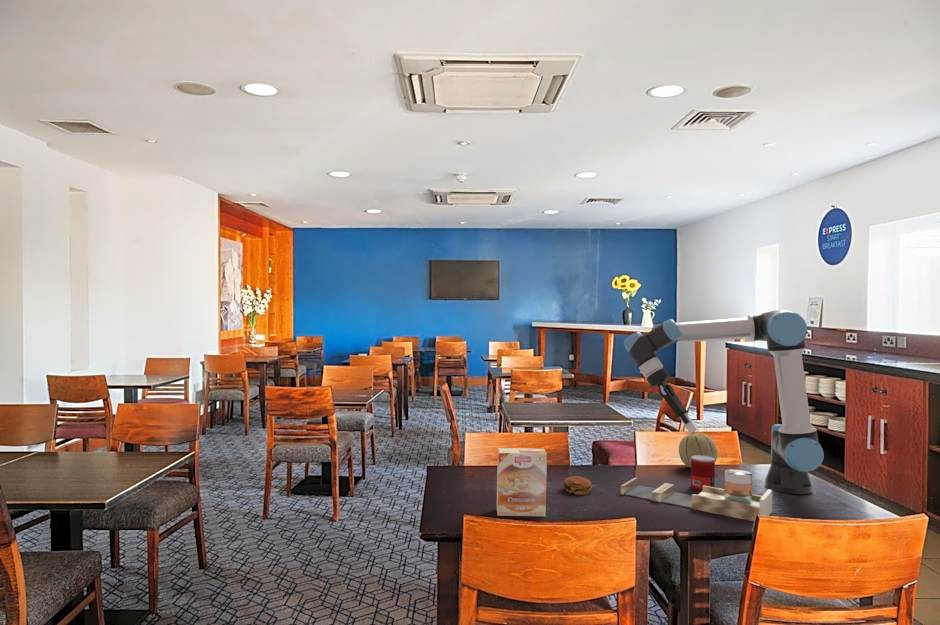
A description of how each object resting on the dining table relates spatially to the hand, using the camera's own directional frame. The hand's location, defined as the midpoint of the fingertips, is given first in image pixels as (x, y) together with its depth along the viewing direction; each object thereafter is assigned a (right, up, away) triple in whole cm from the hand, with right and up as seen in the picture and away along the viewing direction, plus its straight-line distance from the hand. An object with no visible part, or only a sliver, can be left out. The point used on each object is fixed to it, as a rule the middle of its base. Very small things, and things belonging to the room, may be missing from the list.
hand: (693, 431), depth 210 cm
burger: (-38, -22, +6) cm, 45 cm away
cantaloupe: (+15, -23, +38) cm, 47 cm away
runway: (-2, -23, -6) cm, 23 cm away
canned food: (+7, -23, +12) cm, 27 cm away
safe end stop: (+11, -23, -15) cm, 29 cm away
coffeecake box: (-60, -22, -18) cm, 67 cm away
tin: (+10, -20, -12) cm, 25 cm away
